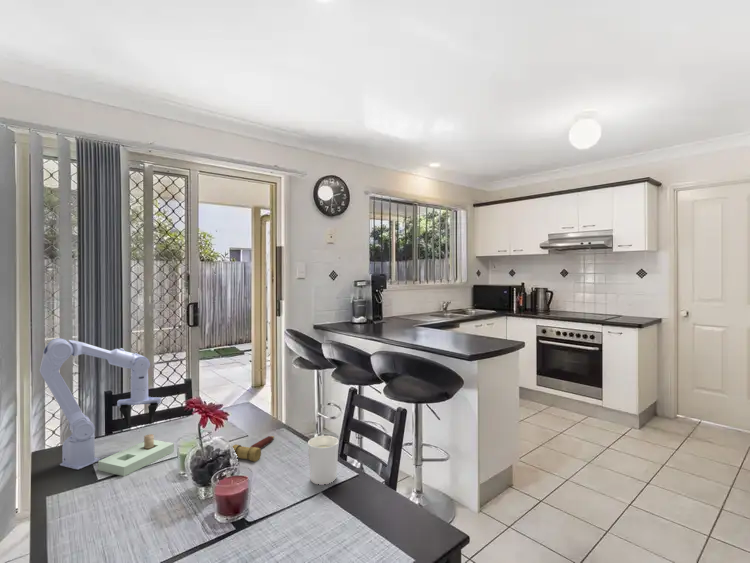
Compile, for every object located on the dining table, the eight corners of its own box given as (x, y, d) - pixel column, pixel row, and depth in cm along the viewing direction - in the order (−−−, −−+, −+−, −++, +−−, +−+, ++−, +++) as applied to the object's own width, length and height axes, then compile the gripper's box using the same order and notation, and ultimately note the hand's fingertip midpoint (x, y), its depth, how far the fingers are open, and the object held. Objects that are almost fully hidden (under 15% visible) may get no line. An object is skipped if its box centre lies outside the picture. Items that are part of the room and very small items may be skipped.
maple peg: (141, 456, 148) (141, 437, 148) (148, 452, 151) (148, 433, 151) (149, 457, 147) (149, 438, 147) (156, 453, 150) (155, 434, 150)
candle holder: (317, 489, 125) (317, 450, 125) (302, 476, 133) (302, 440, 133) (344, 480, 131) (344, 442, 131) (329, 468, 139) (329, 433, 139)
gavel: (262, 429, 166) (284, 432, 163) (262, 441, 166) (284, 444, 163) (230, 446, 146) (254, 450, 143) (229, 459, 146) (253, 464, 143)
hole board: (98, 470, 137) (98, 461, 137) (149, 446, 156) (149, 438, 156) (124, 476, 133) (124, 467, 133) (173, 451, 152) (173, 443, 152)
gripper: (113, 391, 149) (114, 429, 149) (157, 389, 152) (157, 425, 152) (121, 386, 155) (121, 422, 156) (162, 384, 159) (163, 419, 159)
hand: (139, 423), depth 154 cm, fingers open, 7 cm apart
